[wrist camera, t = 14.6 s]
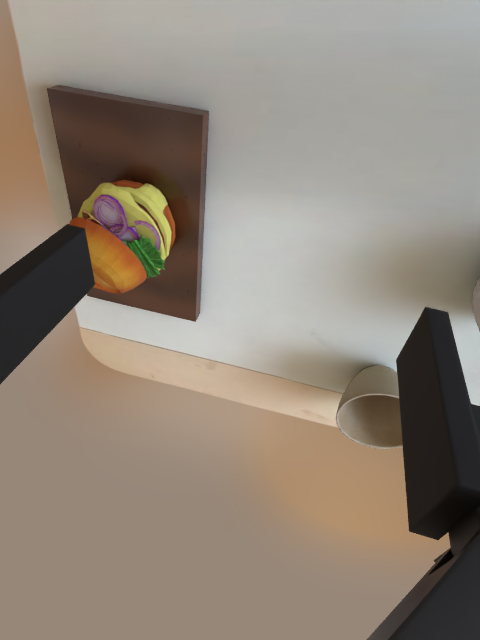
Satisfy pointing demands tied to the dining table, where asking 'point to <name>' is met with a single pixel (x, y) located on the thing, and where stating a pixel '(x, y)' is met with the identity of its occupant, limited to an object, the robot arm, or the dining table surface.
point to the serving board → (140, 179)
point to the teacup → (476, 303)
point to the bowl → (372, 409)
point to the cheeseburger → (126, 233)
